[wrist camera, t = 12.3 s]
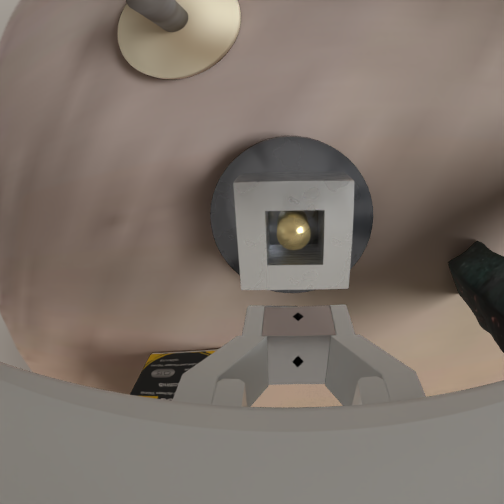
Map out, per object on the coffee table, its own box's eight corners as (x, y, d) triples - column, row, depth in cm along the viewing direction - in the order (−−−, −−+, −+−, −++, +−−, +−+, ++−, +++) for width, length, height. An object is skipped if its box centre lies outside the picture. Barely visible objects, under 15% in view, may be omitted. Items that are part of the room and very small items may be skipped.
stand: (165, -38, 14) (130, -75, 9) (265, 1, 15) (258, -40, 10) (104, 53, 17) (52, 41, 12) (197, 100, 18) (163, 93, 13)
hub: (268, 105, 18) (265, 100, 15) (395, 196, 20) (418, 213, 16) (189, 233, 22) (170, 256, 18) (308, 305, 23) (311, 339, 20)
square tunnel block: (241, 173, 19) (233, 182, 16) (343, 171, 18) (354, 181, 15) (246, 267, 21) (241, 290, 18) (340, 265, 20) (348, 288, 17)
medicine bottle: (226, 346, 26) (195, 474, 15) (245, 402, 28) (228, 515, 17) (150, 351, 27) (95, 459, 16) (176, 404, 29) (142, 504, 18)
